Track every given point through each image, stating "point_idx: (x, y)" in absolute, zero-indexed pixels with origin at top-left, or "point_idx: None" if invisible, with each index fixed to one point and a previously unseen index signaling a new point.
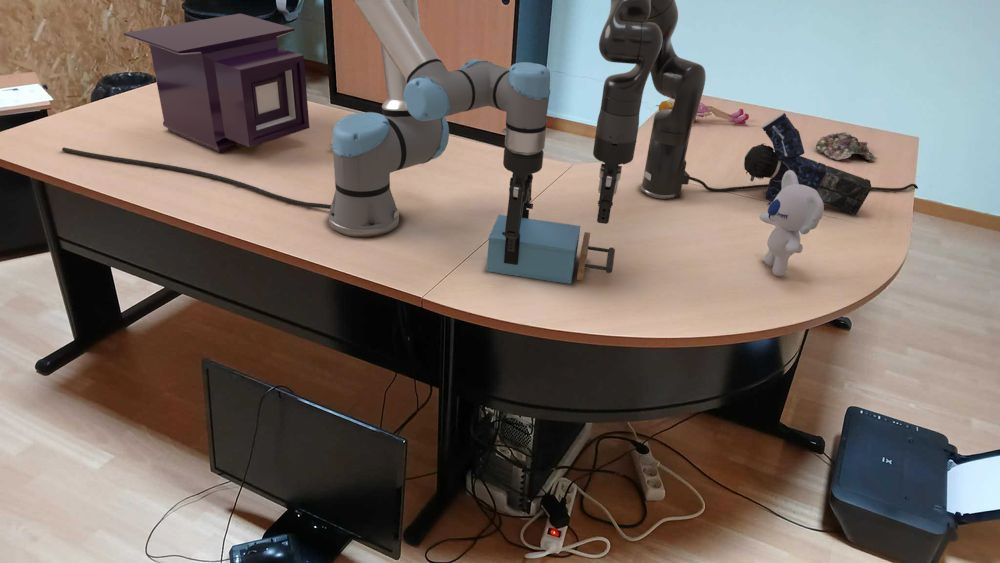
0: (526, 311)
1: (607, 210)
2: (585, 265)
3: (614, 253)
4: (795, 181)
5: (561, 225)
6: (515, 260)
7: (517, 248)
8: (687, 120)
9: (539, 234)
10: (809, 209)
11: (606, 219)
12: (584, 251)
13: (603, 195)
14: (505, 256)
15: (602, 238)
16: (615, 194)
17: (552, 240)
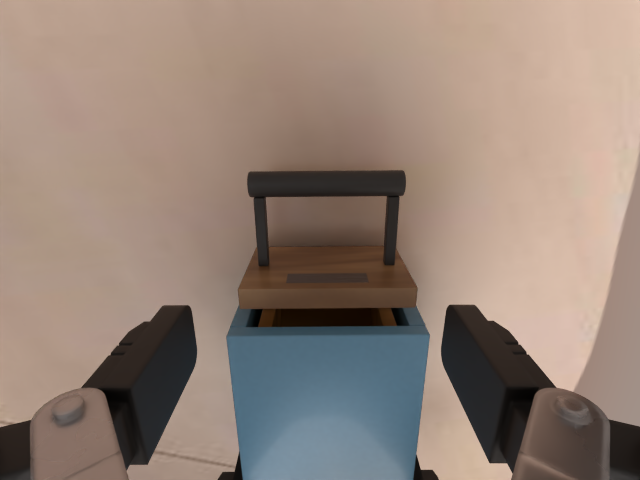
0: (544, 350)
1: (551, 387)
2: (394, 262)
3: (277, 172)
4: None
5: (252, 395)
6: None
7: (419, 470)
8: None
9: (346, 446)
10: None
11: (510, 335)
12: (396, 295)
13: (175, 391)
14: None
15: (83, 206)
16: (521, 452)
17: (378, 408)
